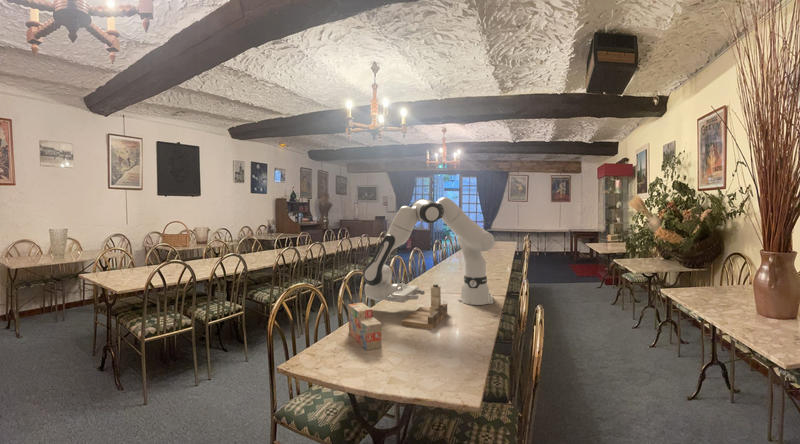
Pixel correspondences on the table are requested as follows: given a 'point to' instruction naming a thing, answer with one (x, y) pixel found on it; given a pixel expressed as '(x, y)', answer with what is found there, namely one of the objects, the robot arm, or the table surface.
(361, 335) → the stack of blocks
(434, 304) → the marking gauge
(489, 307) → the table surface
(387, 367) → the table surface
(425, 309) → the fenced board
